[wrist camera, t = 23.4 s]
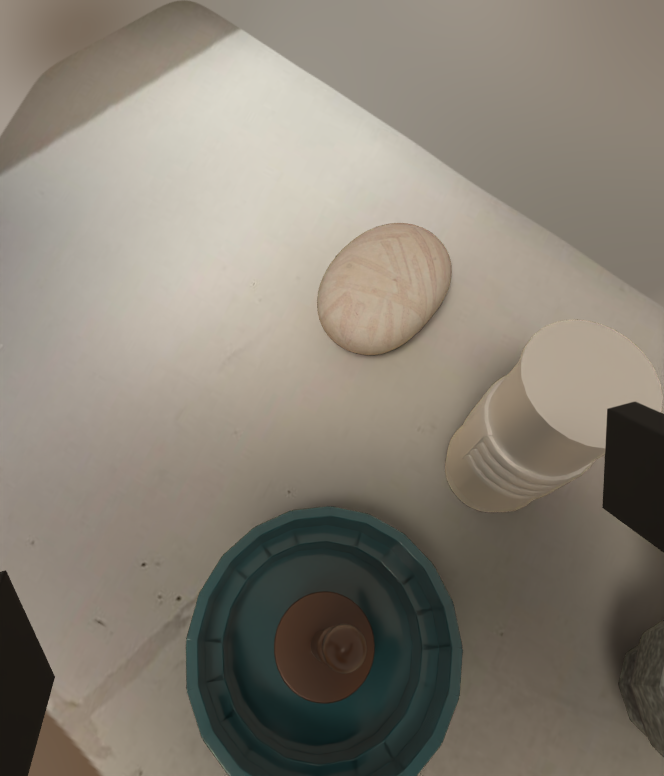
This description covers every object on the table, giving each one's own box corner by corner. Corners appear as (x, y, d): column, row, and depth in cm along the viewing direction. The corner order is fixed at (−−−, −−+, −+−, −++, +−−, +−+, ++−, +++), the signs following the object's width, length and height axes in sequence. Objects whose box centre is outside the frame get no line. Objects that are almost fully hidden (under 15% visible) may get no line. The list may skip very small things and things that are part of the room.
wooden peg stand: (257, 666, 31) (232, 686, 18) (304, 578, 34) (315, 535, 20) (340, 718, 30) (383, 782, 17) (383, 624, 33) (451, 613, 19)
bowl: (154, 697, 31) (126, 710, 26) (280, 489, 37) (279, 463, 31) (370, 840, 29) (389, 886, 23) (467, 595, 35) (500, 587, 29)
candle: (433, 425, 40) (508, 315, 26) (523, 428, 40) (643, 320, 27) (441, 518, 37) (530, 448, 23) (539, 520, 37) (682, 451, 24)
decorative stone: (385, 231, 47) (395, 189, 43) (466, 289, 45) (486, 250, 41) (287, 320, 43) (287, 282, 38) (373, 389, 41) (384, 357, 36)
